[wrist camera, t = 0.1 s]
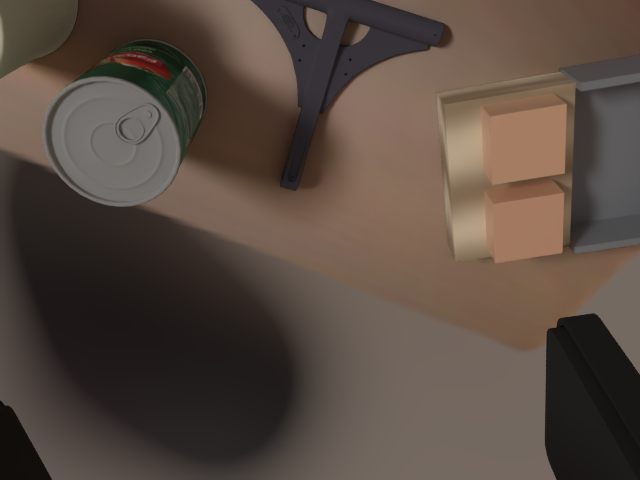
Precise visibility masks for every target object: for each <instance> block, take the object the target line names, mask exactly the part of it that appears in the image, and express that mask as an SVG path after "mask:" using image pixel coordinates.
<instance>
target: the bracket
mask: <svg viewBox="0 0 640 480" xmlns="http://www.w3.org/2000/svg"><path fill="white" fill-rule="evenodd" d="M251 1H253V2H254V3H255V4H256V5H257V6H258V7H259V8H260V9H261V10H262V11H263V12H264V13H265V14H266V16H267V17H268V18H269V19H270V20H271V22H272V23H273V24H274V26H275V27H276V28H277V30H278V31H279V33H280V35H281V36H282V38H283V40H284V42H285V44H286V46H287V48H288V50H289V52H290V54H291V57H292V60H293V64H294V69H295V73H296V78H297V87H298V107H300V108H302V109H301V112H300V116H299V119H298V123H297V126H296V130H295V133H294V137H293V140H292V143H291V147H290V150H289V154H288V157H287V161H286V164H285V168H284V171H283V175H282V178H281V183H280V187H283V188H286V189H290V190H294V191H296V190H297V188H298V185H299V182H300V178H301V175H302V171H303V167H304V164H305V160H306V157H307V153H308V149H309V146H310V142H311V139H312V135H313V131H314V128H315V125H316V121H317V118H318V114H319V113H321V114H322V113H323V112H324V111H325V109H326V108H327V106H328V105H329V103H330V102H331V100H332V99H333V97H334V96H335V95H336V94H337V92H338V91H339V90H340V89H341V88H342V87H343V86H344V85H345V84H346V83H347V82H348V81H349V80H350V79H351V78H352V77H353V76H354V75H356V74H357V73H359V72H361V71H362V70H364V69H365V68H367V67H369V66H371V65H373V64H375V63H377V62H379V61H381V60H384V59H386V58H389V57H392V56H395V55H399V54H403V53H408V52H413V51H420V50H426V49H427V47H428V45H431V46H434V47H436V46H437V45H438V43H439V41H440V39H441V37H442V34H443V29H444V24H443V23H441V22H437V21H434V20H431V19H428V18H425V17H422V16H419V15H416V14H412V13H409V12H406V11H403V10H400V9H397V8H394V7H390V6H387V5H384V4H381V3H378V2H375V1H372V0H251ZM304 6H306V7H309V8H312V9H316V10H319V11H321V12H324V13H326V14H327V20H326V25H325V29H324V33H323V36H322V39H318V38H316V37H314V36H313V35H312V34H311V33H310V32H309V31H308V29H307V28H306V26H305V23H304V19H303V8H304ZM348 21H353V22H357V23H360V24H364V25H367V26H370V30H369V32H368V33H367V35H366V36H365V37H364V38H363V39H362V40H361V41H360V42H358V43H356V44H354V45H351V46H341V45H340V42H341V39H342V35H343V32H344V29H345V26H346V24H347V22H348ZM303 45H305V46H303ZM299 59H301V61H299ZM349 59H351V60H349ZM345 73H347V74H346V75H345Z"/></svg>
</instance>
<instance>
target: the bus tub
mask: <svg viewBox="0 0 640 480" xmlns="http://www.w3.org/2000/svg"><path fill="white" fill-rule="evenodd" d="M560 72H561V73H562V74H564V75H565V76H567V77H568V78H570V79H571V80H573V81H574V82H576V86H575V114H574V142H573V170H572V198H571V225H570V245H568V246H569V247H570V249H571V250H572V251H573V253H574V254H578V253H585V252H591V251H598V250H605V249H611V248H618V247H625V246H631V245H638V244H640V55H636V56H630V57H624V58H618V59H612V60H606V61H601V62H595V63H589V64H583V65H577V66H571V67H565V68H560Z"/></svg>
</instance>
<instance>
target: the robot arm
mask: <svg viewBox="0 0 640 480" xmlns="http://www.w3.org/2000/svg"><path fill="white" fill-rule="evenodd" d="M545 408H546V409H545V447H546V452H547V456H548V460H549V462H550V465H551V468H552V470H553V472H554V475H555V477H556V479H557V480H640V374H639V373H638V372H637V370H636V369H635V367H634V366H633V364H632V363H631V362H630V360H629V359H628V357H627V356H626V355H625V353H624V352H623V350H622V349H621V347H620V346H619V345H618V343H617V342H616V341H615V339H614V338H613V336H612V335H611V333H610V332H609V330H608V329H607V328H606V326H605V325H604V323H603V322H602V321H601V319H600V318H599V317H598V316H597V315H596V314H594V313H593V314H586V315H579V316H572V317H565V318H560V319H559V320H558V322H557V328H550V329H548V331H547V344H546V406H545ZM0 480H52V479H51V477H50V475H49V473H48V472H47V470H46V468H45V466H44V464H43V462H42V461H41V459H40V457H39V455H38V453H37V452H36V450H35V448H34V446H33V444H32V443H31V441H30V439H29V437H28V436H27V434H26V432H25V430H24V428H23V427H22V425H21V423H20V421H19V420H18V418H17V416H16V414H15V412H14V411H13V409H12V408H11V407H9V406H5V405H4V404H3V403H2V402H1V401H0Z"/></svg>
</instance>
